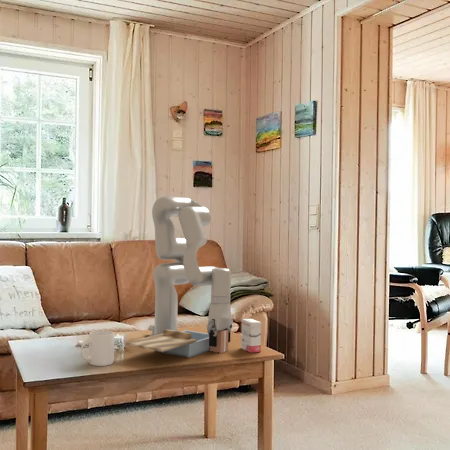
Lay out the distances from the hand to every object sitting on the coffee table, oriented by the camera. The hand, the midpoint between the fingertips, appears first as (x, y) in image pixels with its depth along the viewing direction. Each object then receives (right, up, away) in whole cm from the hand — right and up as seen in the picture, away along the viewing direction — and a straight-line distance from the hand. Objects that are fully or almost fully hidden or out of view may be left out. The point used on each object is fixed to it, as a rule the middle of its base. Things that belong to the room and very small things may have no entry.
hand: (219, 344), depth 227 cm
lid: (-21, +3, -13) cm, 25 cm away
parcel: (0, -3, 0) cm, 3 cm away
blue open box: (-13, -2, +1) cm, 13 cm away
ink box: (+12, -3, +3) cm, 13 cm away
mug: (-43, -2, -24) cm, 49 cm away
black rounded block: (-53, -2, +6) cm, 53 cm away
